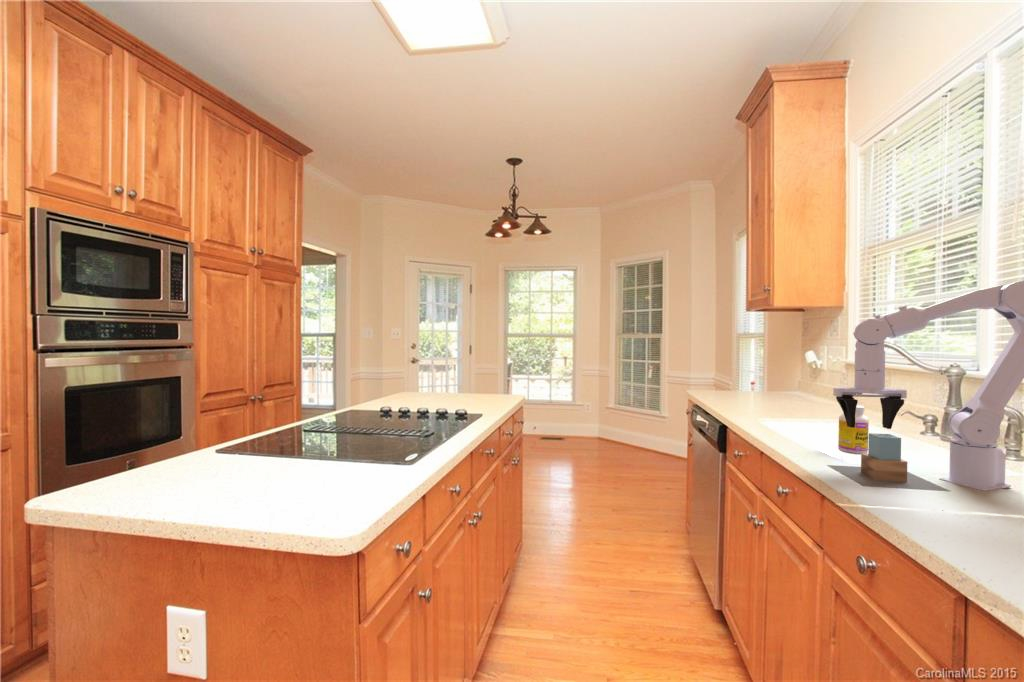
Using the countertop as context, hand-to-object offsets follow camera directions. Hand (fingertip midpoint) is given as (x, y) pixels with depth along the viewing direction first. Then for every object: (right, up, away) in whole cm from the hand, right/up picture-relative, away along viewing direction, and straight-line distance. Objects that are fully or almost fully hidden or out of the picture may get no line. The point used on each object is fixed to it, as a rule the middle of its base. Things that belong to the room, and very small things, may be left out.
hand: (868, 427), depth 110 cm
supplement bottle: (+10, -10, +18) cm, 23 cm away
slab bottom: (-1, -10, -6) cm, 12 cm away
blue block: (-1, -6, -6) cm, 8 cm away
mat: (-1, -11, -6) cm, 12 cm away
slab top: (-1, -8, -6) cm, 10 cm away
